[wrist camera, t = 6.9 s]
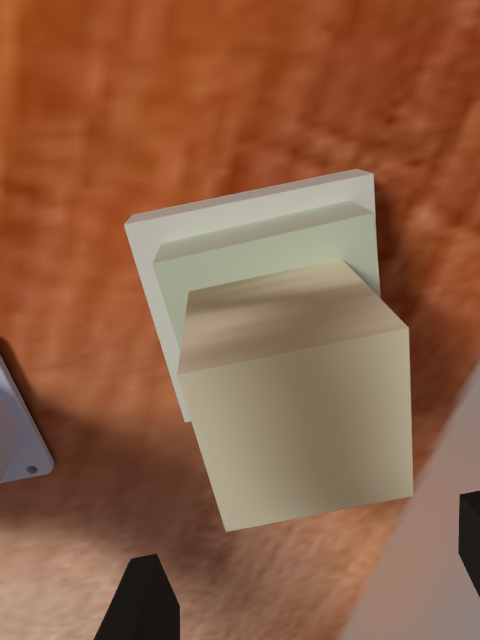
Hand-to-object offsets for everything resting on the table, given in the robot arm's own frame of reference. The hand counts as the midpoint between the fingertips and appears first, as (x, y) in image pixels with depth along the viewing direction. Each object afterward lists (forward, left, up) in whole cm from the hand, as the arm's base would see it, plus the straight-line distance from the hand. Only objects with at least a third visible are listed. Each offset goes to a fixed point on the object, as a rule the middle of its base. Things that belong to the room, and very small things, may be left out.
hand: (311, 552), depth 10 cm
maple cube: (0, +2, -6) cm, 7 cm away
